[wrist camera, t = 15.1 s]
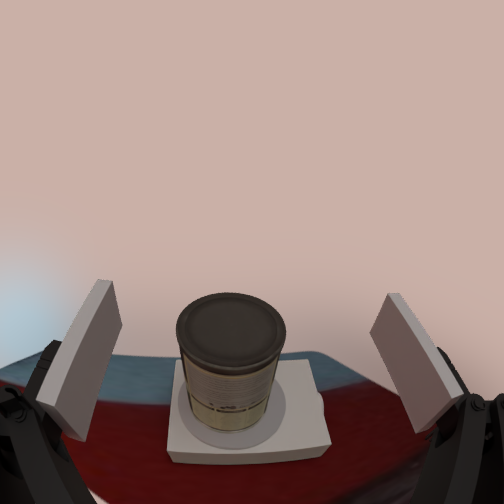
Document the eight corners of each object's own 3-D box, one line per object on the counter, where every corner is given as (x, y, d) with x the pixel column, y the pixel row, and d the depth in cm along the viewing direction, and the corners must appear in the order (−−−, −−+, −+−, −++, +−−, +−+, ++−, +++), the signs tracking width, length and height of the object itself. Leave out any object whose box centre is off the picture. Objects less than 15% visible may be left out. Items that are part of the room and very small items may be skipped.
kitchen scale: (325, 455, 30) (339, 440, 27) (173, 462, 28) (165, 447, 25) (305, 377, 43) (314, 355, 40) (179, 378, 41) (175, 355, 38)
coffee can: (174, 387, 33) (159, 309, 26) (239, 360, 39) (246, 281, 32) (213, 448, 26) (209, 387, 19) (283, 410, 32) (309, 338, 25)
